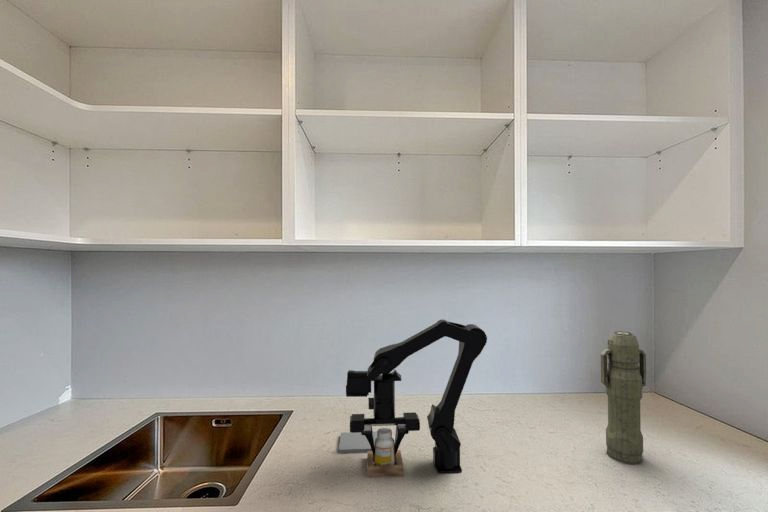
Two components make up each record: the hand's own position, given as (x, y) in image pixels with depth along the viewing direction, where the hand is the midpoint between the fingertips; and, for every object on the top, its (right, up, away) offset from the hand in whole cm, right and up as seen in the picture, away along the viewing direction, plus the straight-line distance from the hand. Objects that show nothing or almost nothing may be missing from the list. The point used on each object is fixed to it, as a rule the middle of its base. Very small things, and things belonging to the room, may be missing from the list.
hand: (384, 453), depth 104 cm
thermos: (+68, -3, +4) cm, 68 cm away
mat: (-8, -4, +13) cm, 16 cm away
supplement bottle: (0, -4, 0) cm, 4 cm away
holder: (0, -4, 0) cm, 4 cm away
